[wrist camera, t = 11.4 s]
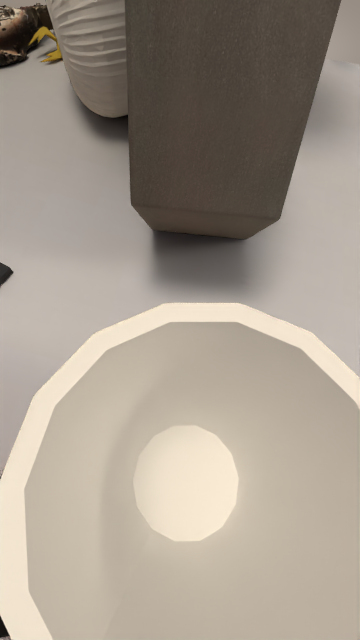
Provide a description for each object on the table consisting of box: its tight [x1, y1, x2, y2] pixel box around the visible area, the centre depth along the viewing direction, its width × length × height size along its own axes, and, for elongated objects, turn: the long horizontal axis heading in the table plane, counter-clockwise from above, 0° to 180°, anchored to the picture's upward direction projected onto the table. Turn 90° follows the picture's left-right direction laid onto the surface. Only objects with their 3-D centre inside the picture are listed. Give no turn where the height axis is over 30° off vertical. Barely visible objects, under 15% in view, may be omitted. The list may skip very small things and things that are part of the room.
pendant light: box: [45, 0, 128, 118], centre depth 29 cm, size 14×14×30 cm
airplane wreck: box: [0, 3, 54, 66], centre depth 35 cm, size 6×18×6 cm, turn 128°
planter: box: [125, 0, 341, 239], centre depth 20 cm, size 17×8×21 cm
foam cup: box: [0, 303, 360, 640], centre depth 13 cm, size 10×9×13 cm
